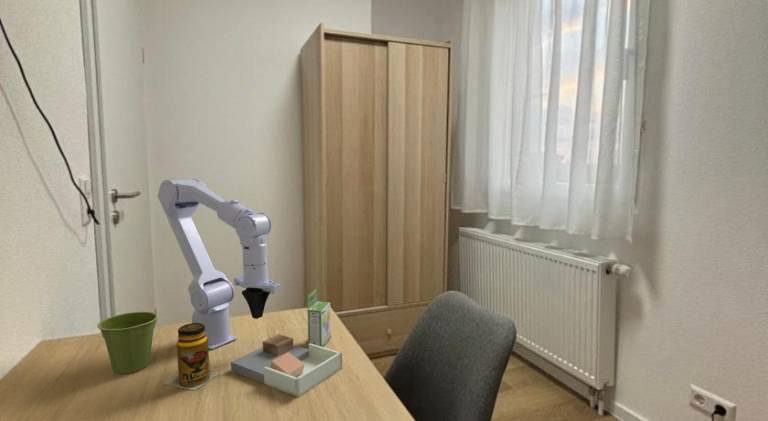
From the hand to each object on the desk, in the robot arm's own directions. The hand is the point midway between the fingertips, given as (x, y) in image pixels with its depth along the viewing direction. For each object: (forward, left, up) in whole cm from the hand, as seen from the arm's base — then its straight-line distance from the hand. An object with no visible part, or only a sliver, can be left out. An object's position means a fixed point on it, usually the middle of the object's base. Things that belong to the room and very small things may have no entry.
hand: (257, 317), depth 102 cm
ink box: (+9, +12, -9) cm, 18 cm away
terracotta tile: (+15, -6, -7) cm, 18 cm away
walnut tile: (+7, 0, -7) cm, 10 cm away
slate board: (+8, -3, -9) cm, 12 cm away
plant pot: (-19, -21, -9) cm, 29 cm away
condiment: (-2, -17, -9) cm, 19 cm away
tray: (+18, -3, -9) cm, 20 cm away
